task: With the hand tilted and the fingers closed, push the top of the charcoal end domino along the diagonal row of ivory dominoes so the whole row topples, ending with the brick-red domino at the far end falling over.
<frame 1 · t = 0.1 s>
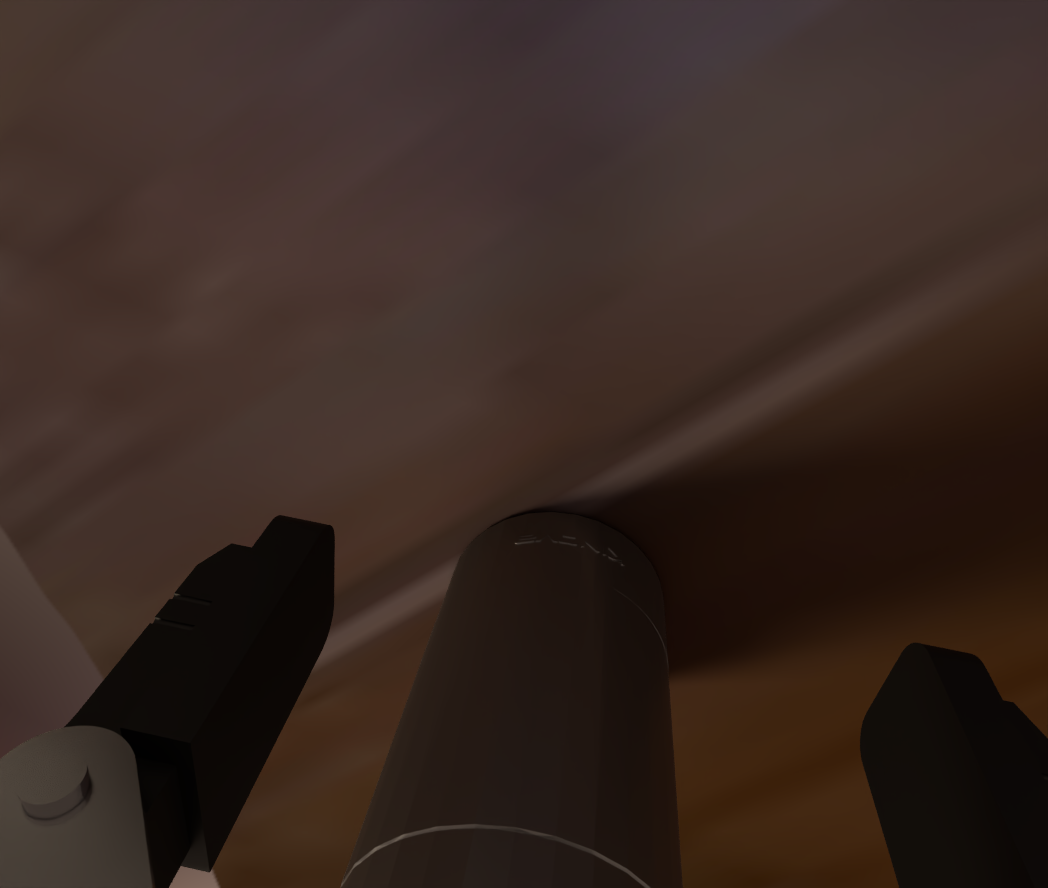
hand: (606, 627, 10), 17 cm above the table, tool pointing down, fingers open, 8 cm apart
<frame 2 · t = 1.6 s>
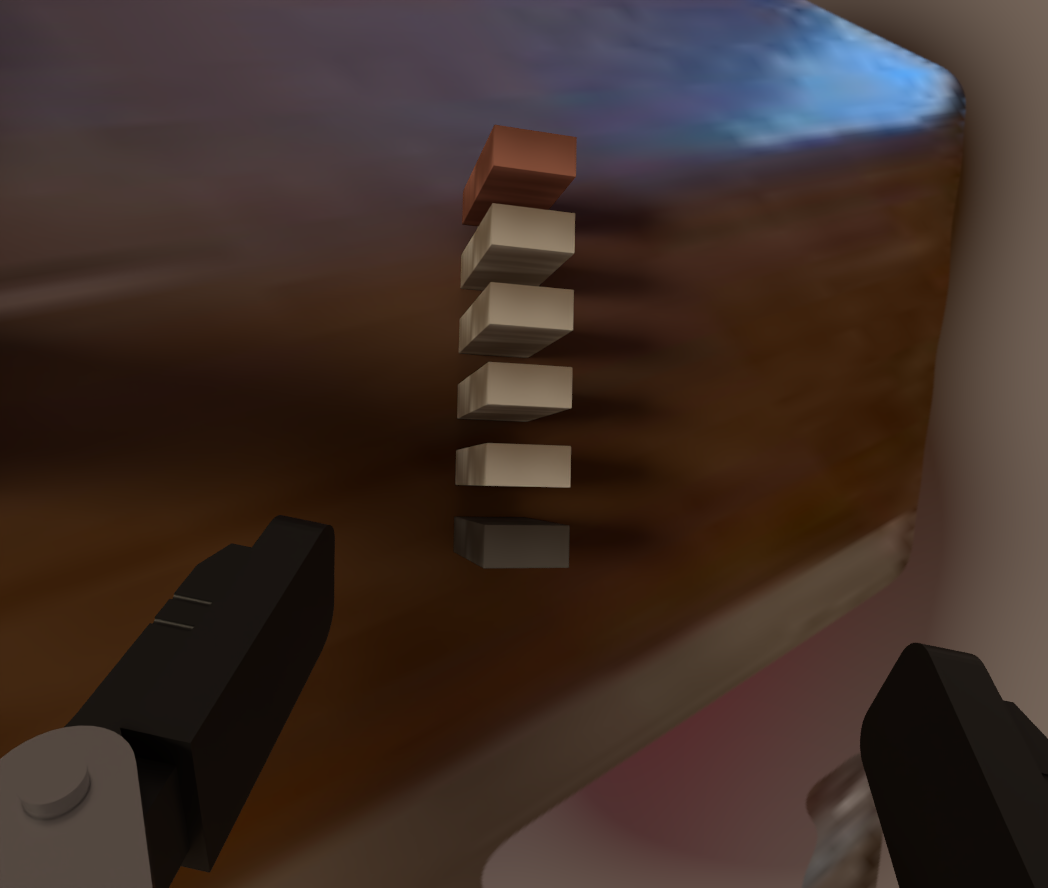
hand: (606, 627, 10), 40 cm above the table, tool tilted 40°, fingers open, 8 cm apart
domino 4: (494, 338, 52), on the table
domino 2: (490, 468, 51), on the table
domino 6: (497, 211, 52), on the table
domino 5: (495, 275, 52), on the table
domino 3: (492, 403, 52), on the table
domino 1: (489, 534, 51), on the table
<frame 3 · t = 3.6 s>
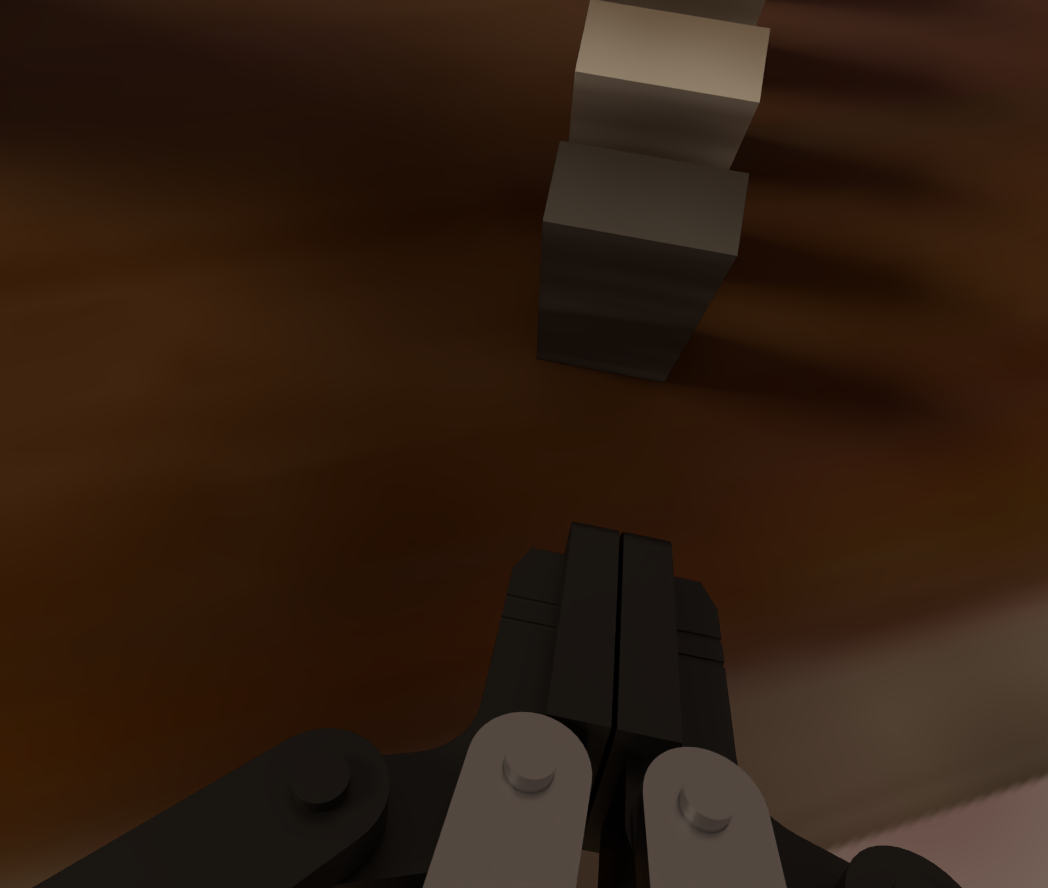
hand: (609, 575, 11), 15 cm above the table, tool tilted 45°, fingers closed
domino 2: (624, 237, 30), on the table
domino 3: (642, 140, 31), on the table
domino 1: (605, 341, 29), on the table
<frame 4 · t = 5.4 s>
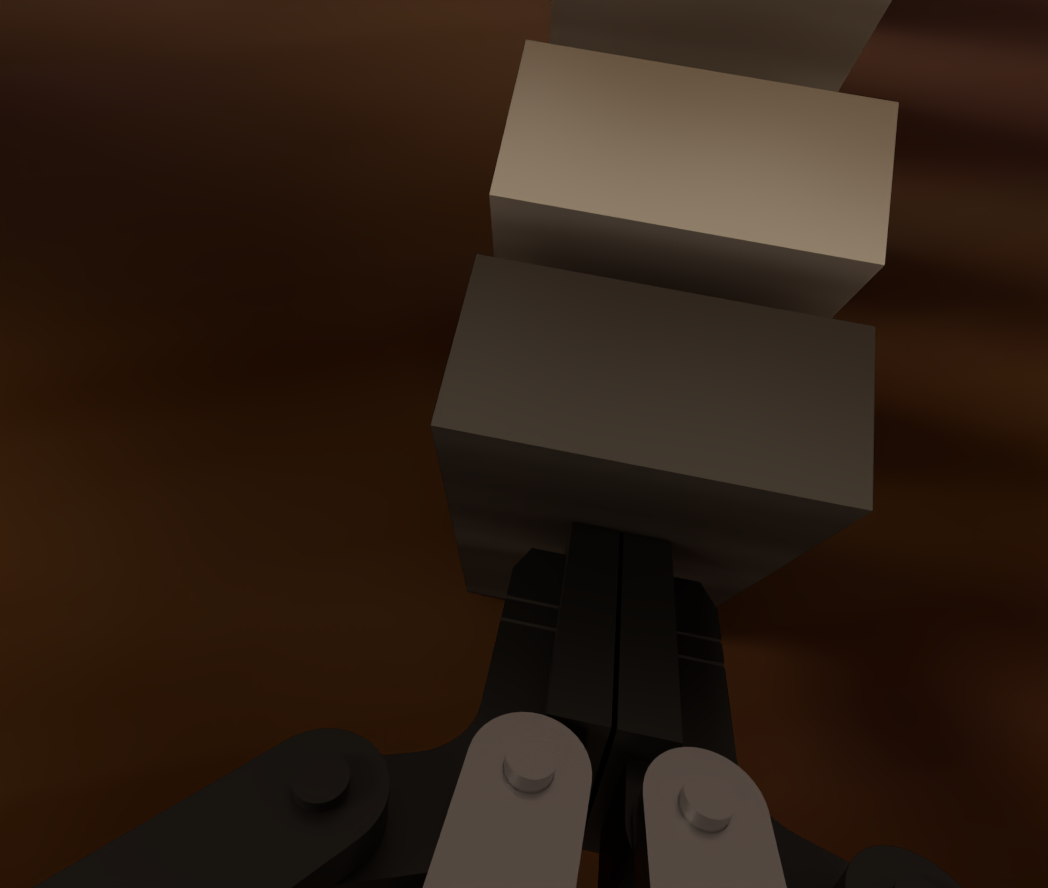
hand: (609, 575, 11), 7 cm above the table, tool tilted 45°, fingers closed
domino 2: (608, 390, 19), on the table
domino 3: (636, 235, 20), on the table
domino 1: (578, 563, 18), on the table, tilted 8°, touching gripper
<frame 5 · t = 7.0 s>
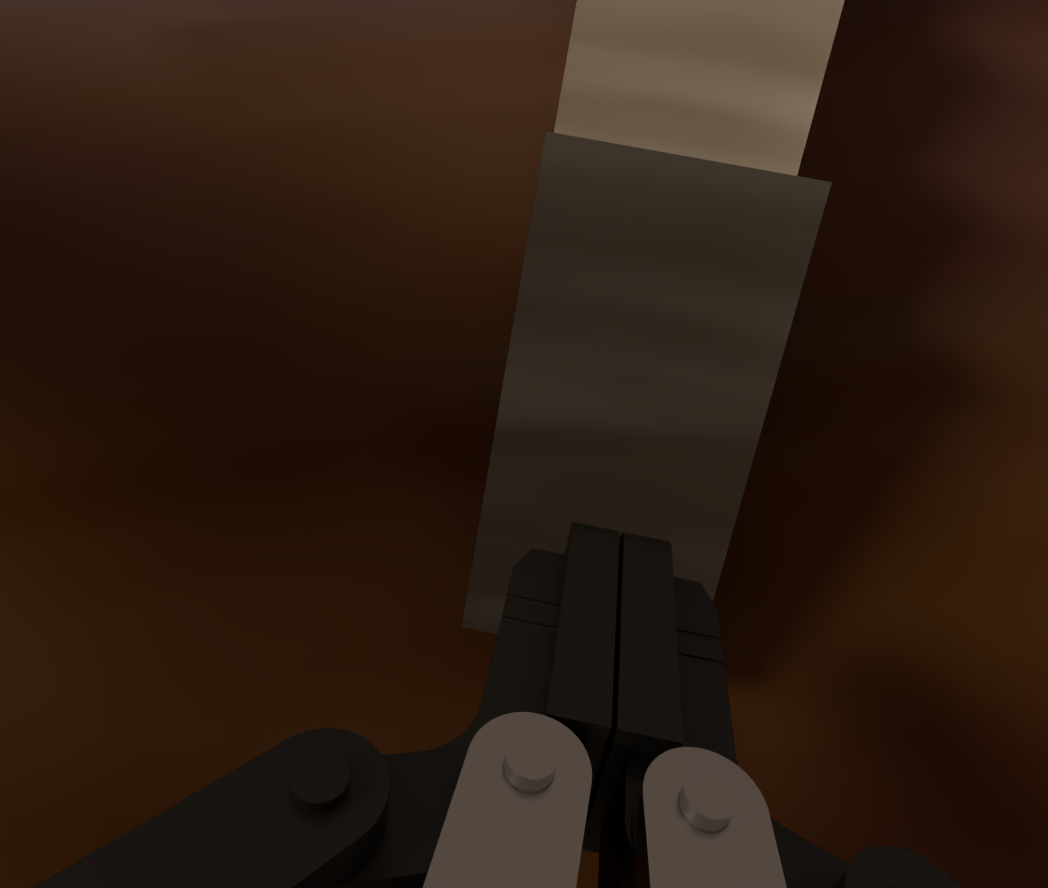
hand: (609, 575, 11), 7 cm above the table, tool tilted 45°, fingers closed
domino 2: (609, 432, 18), point 1 cm above the table, tilted 59°, touching domino 1, domino 3
domino 1: (577, 622, 17), point 1 cm above the table, tilted 59°, touching domino 2
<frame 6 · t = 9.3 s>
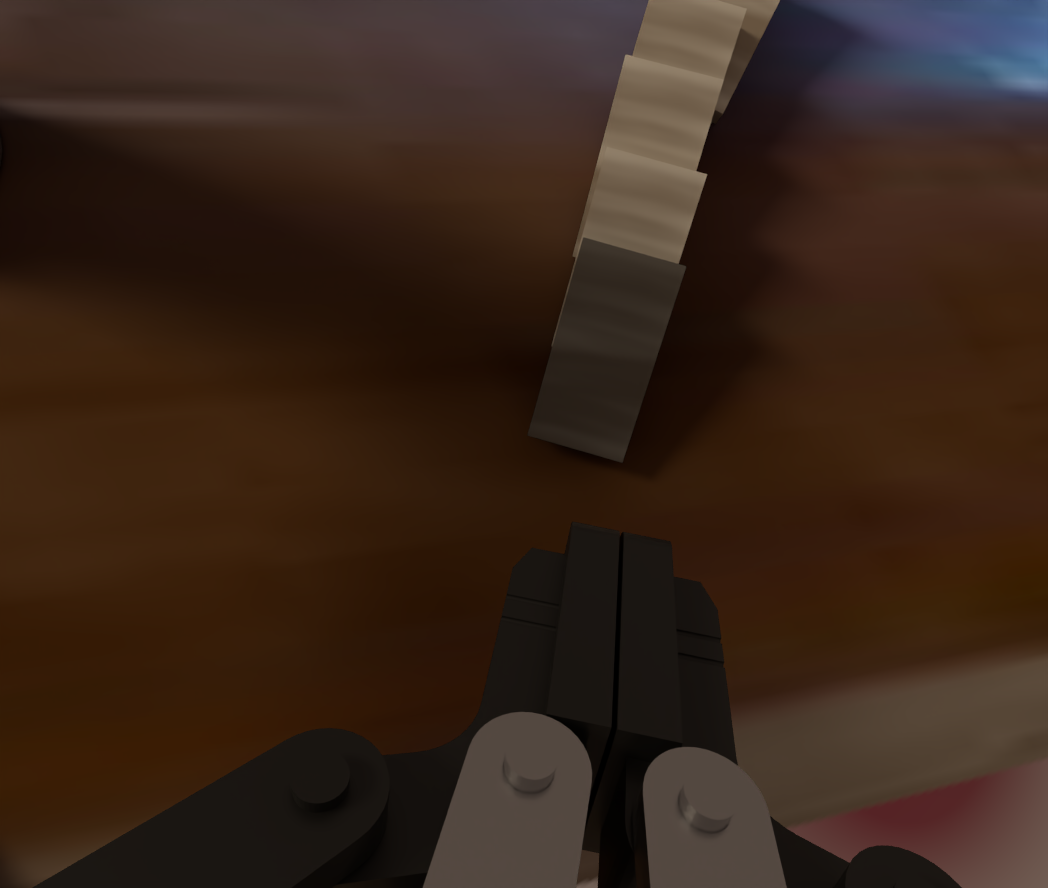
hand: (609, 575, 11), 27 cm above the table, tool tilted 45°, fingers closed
domino 4: (638, 192, 41), point 1 cm above the table, tilted 66°, touching domino 3, domino 5
domino 2: (597, 355, 39), point 1 cm above the table, tilted 61°, touching domino 1, domino 3
domino 5: (680, 99, 42), point 1 cm above the table, tilted 66°, touching domino 4, domino 6
domino 3: (617, 267, 40), point 1 cm above the table, tilted 61°, touching domino 2, domino 4
domino 1: (575, 442, 38), point 1 cm above the table, tilted 61°, touching domino 2
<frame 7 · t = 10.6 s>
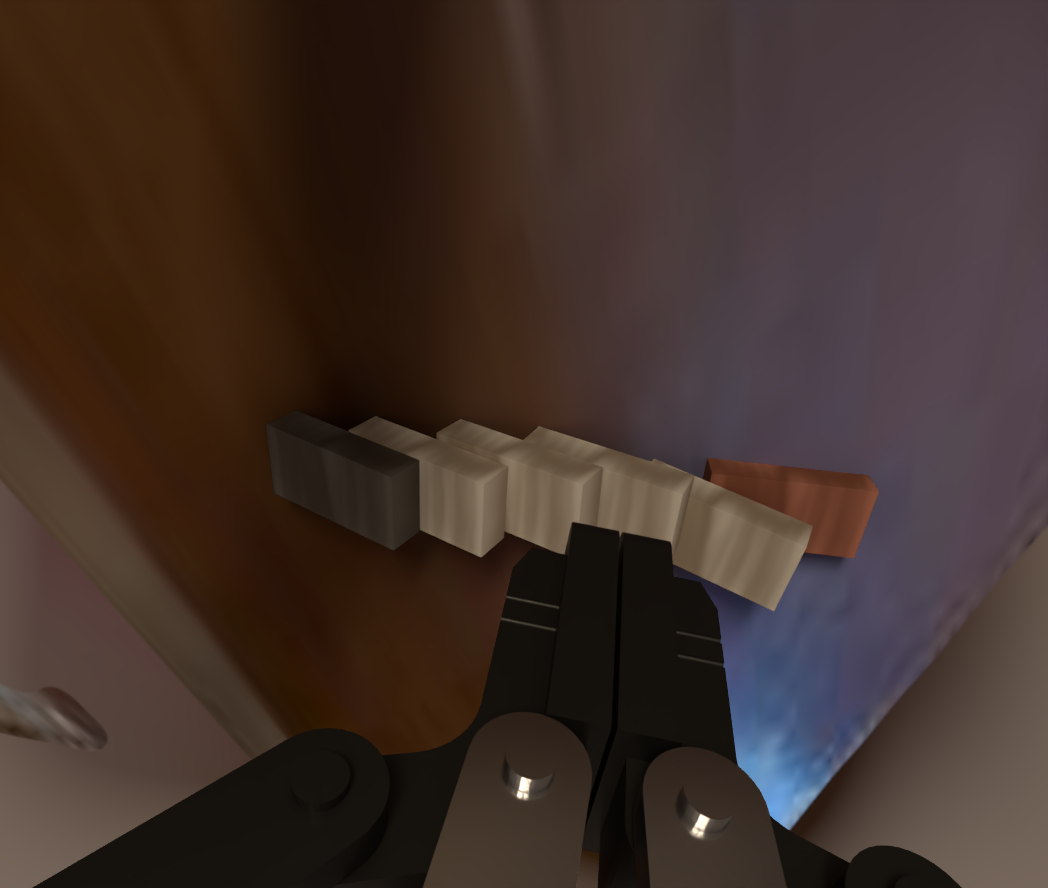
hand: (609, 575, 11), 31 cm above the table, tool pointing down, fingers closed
domino 4: (526, 468, 46), point 1 cm above the table, tilted 67°, touching domino 3, domino 5
domino 2: (364, 458, 46), point 1 cm above the table, tilted 62°, touching domino 1, domino 3
domino 6: (701, 497, 46), point 1 cm above the table, tilted 90°, touching domino 5
domino 5: (636, 499, 46), point 1 cm above the table, tilted 67°, touching domino 4, domino 6
domino 3: (448, 461, 46), point 1 cm above the table, tilted 62°, touching domino 2, domino 4
domino 1: (284, 452, 47), point 1 cm above the table, tilted 62°, touching domino 2
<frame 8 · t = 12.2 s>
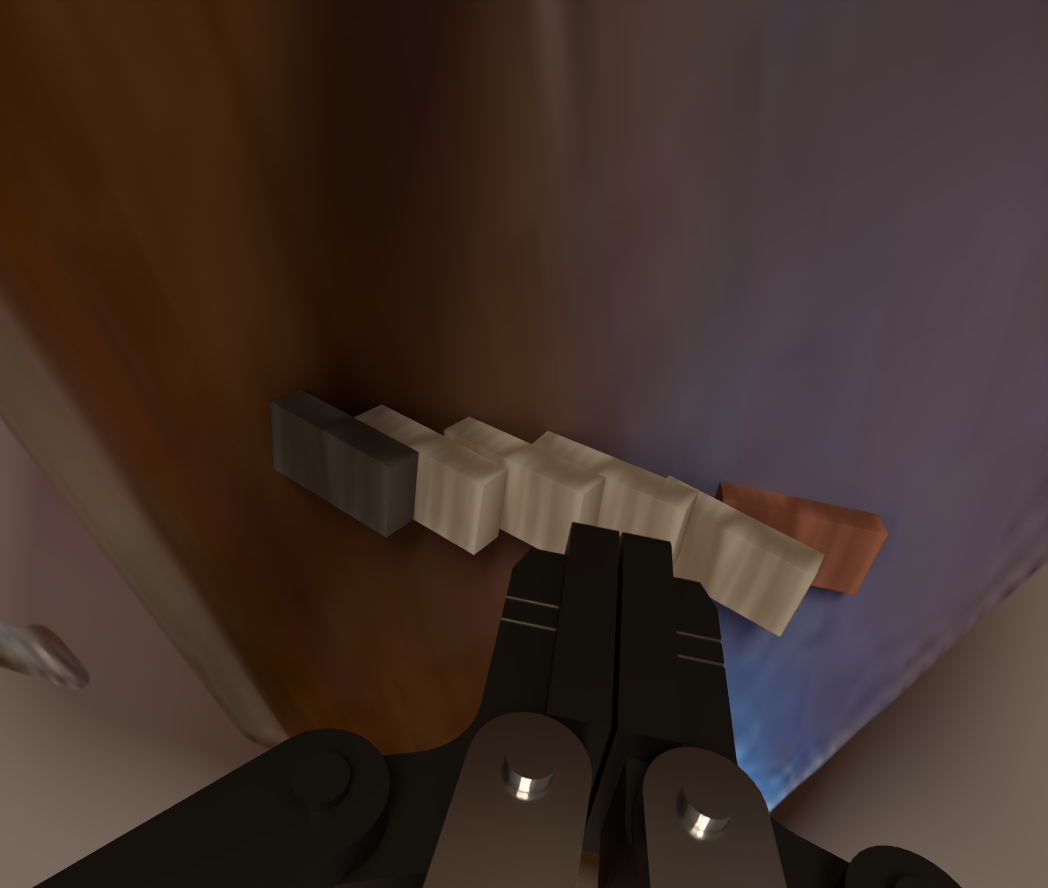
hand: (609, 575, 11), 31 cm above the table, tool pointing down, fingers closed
domino 4: (533, 471, 46), point 1 cm above the table, tilted 68°, touching domino 3
domino 2: (367, 444, 47), point 1 cm above the table, tilted 63°, touching domino 1, domino 3
domino 6: (709, 519, 47), point 1 cm above the table, tilted 90°, touching domino 5
domino 5: (650, 514, 46), point 1 cm above the table, tilted 66°, touching domino 6
domino 3: (454, 457, 46), point 1 cm above the table, tilted 62°, touching domino 2, domino 4
domino 1: (287, 429, 47), point 1 cm above the table, tilted 63°, touching domino 2
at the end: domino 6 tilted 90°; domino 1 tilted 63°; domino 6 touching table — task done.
